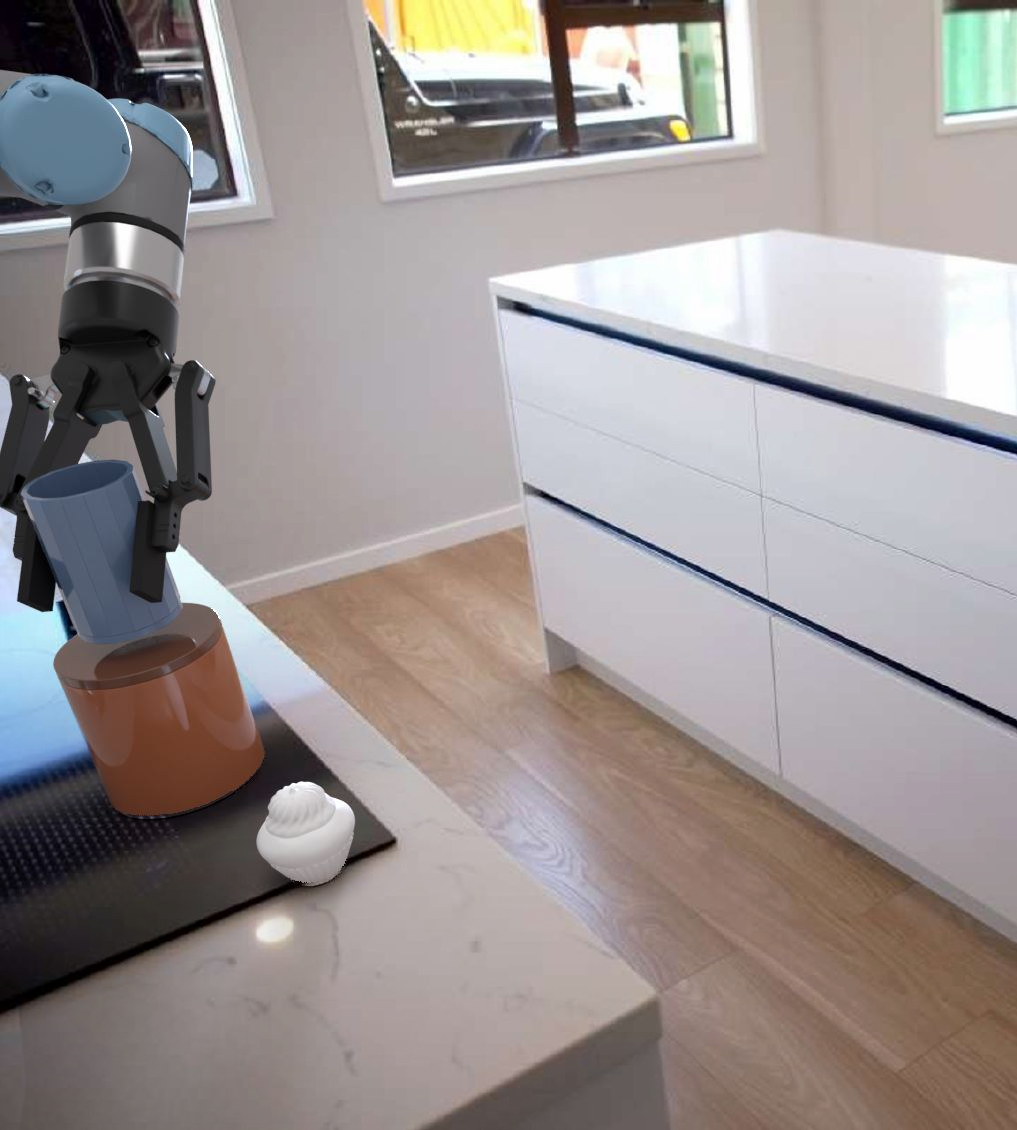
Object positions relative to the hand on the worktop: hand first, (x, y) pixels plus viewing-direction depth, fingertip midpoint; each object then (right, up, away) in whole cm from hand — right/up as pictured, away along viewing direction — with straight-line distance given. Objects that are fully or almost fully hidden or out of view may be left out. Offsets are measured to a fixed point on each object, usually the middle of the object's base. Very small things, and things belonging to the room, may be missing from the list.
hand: (90, 601), depth 87 cm
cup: (0, -1, +5) cm, 5 cm away
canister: (+1, -14, +11) cm, 17 cm away
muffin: (+16, -18, 0) cm, 24 cm away
